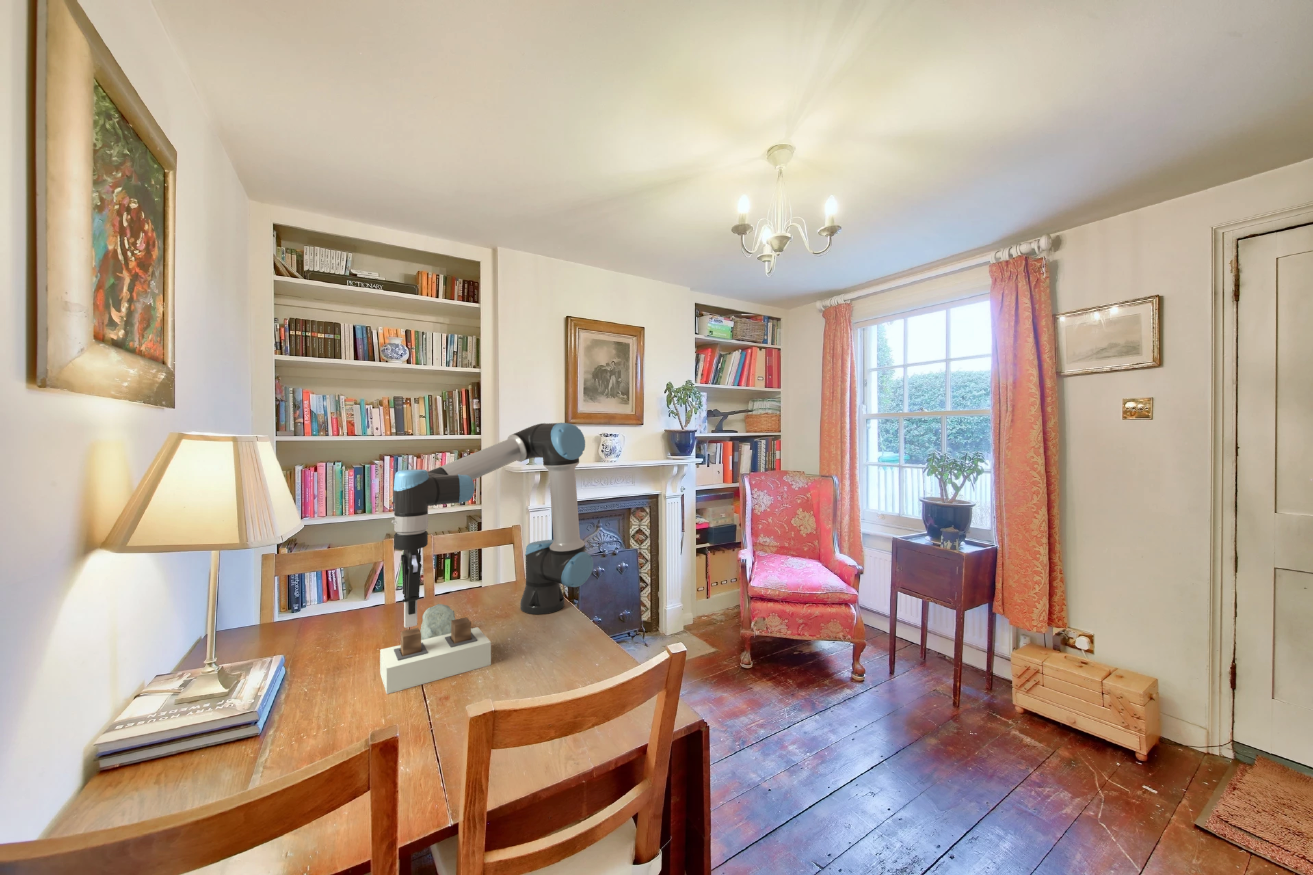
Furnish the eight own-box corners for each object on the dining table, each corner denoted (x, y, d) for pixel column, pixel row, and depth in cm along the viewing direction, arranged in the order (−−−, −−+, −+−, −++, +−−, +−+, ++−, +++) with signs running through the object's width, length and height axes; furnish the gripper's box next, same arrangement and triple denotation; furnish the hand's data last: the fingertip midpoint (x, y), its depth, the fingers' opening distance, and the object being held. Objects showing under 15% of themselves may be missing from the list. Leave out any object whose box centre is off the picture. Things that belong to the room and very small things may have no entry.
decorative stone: (423, 631, 145) (410, 613, 139) (458, 614, 149) (447, 595, 143) (429, 667, 136) (416, 649, 130) (467, 647, 139) (456, 629, 133)
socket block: (477, 648, 134) (477, 625, 134) (490, 664, 124) (490, 640, 124) (380, 673, 120) (380, 647, 120) (386, 694, 110) (386, 666, 110)
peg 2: (466, 639, 128) (466, 617, 128) (470, 644, 125) (470, 621, 125) (451, 642, 126) (451, 620, 126) (454, 648, 123) (455, 625, 123)
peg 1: (418, 650, 121) (418, 627, 121) (421, 656, 118) (421, 632, 118) (400, 655, 119) (400, 631, 119) (403, 661, 116) (403, 636, 116)
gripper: (390, 528, 121) (389, 620, 121) (398, 537, 111) (397, 638, 111) (422, 525, 126) (421, 614, 126) (432, 534, 115) (432, 630, 115)
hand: (410, 625), depth 118 cm, fingers closed
